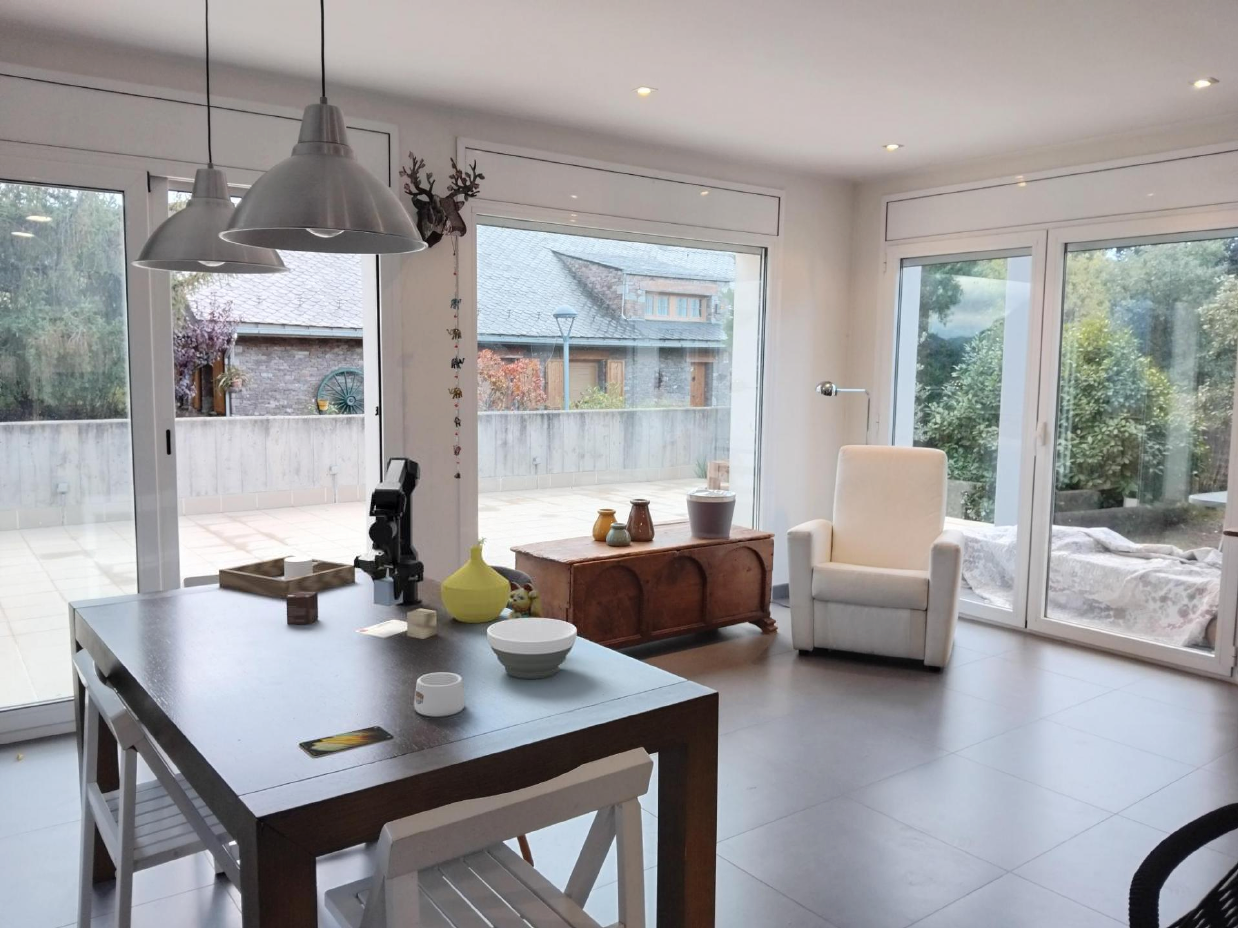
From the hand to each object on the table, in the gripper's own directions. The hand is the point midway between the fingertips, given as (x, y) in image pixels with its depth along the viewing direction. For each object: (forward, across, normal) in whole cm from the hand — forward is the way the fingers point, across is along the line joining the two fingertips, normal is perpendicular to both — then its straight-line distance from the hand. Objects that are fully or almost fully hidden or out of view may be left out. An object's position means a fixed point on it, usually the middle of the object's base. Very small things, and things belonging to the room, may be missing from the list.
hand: (388, 598), depth 240 cm
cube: (+1, 0, 0) cm, 1 cm away
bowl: (+8, +50, -9) cm, 52 cm away
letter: (+8, 0, 0) cm, 8 cm away
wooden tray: (+8, -60, +21) cm, 64 cm away
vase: (+8, +12, +20) cm, 25 cm away
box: (+8, -23, -7) cm, 25 cm away
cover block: (+8, +11, 0) cm, 14 cm away
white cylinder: (+9, -58, +23) cm, 63 cm away
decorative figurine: (+8, +36, +9) cm, 38 cm away
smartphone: (+8, +45, -59) cm, 75 cm away
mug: (+8, +47, -37) cm, 60 cm away
